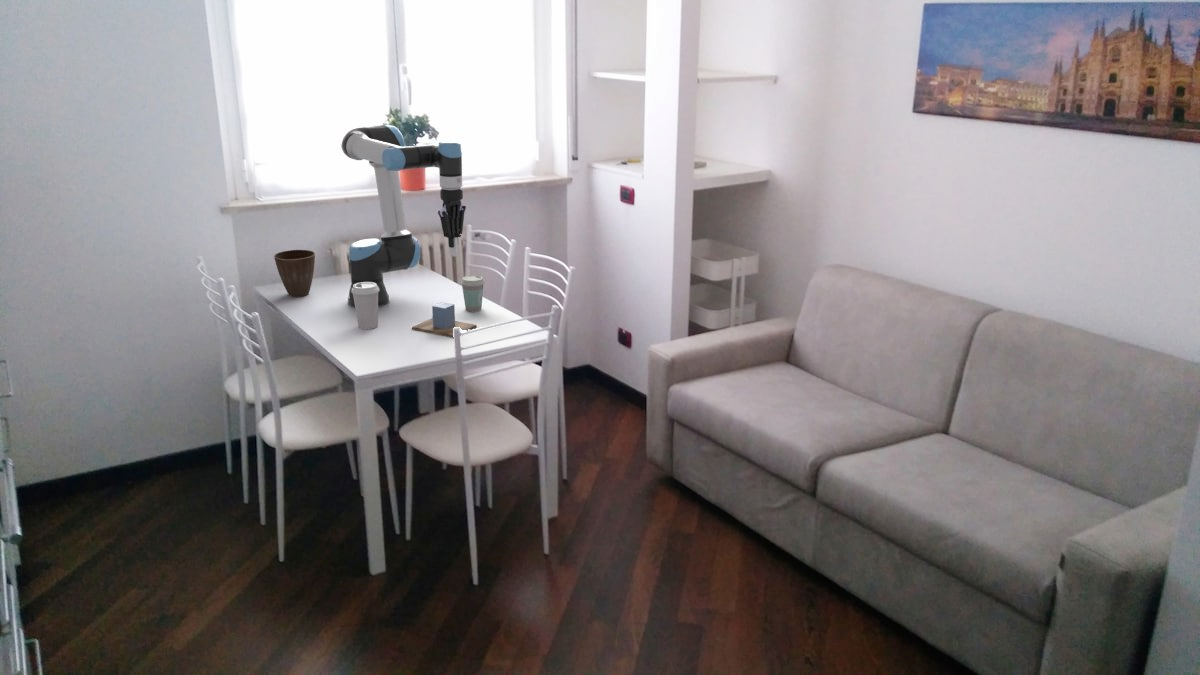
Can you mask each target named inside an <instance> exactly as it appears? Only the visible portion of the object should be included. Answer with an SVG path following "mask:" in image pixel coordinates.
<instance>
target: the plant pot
mask: <svg viewBox="0 0 1200 675" xmlns="http://www.w3.org/2000/svg"><path fill="white" fill-rule="evenodd" d="M273 258H274V262H275V265H276V269H277V272H278V274H279V277H280V280H281V282H282V284H283V285H282V286H284V289H285V291H286V292H287V295H288V296H289V297H291V298H300V297H306V296H308V295H309V293H310V291H311V288H312V287H311V286H312V283H313V278H314V272H315V262H316V252H314V251H313V250H308V249H292V250H284V251H280V252H277V253H275V254H274V256H273Z"/></svg>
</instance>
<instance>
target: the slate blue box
mask: <svg viewBox="0 0 1200 675" xmlns="http://www.w3.org/2000/svg"><path fill="white" fill-rule="evenodd" d="M431 307H432V308H431V310H432V318H433V327H436V328H441V329H448V328H450V327H452V326H454V325H455V321H456V315H455V313H456V309H455V304H454V303H449V302H445V301H444V302H443V301H441V302H439V303H436V304H433V305H431Z"/></svg>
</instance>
